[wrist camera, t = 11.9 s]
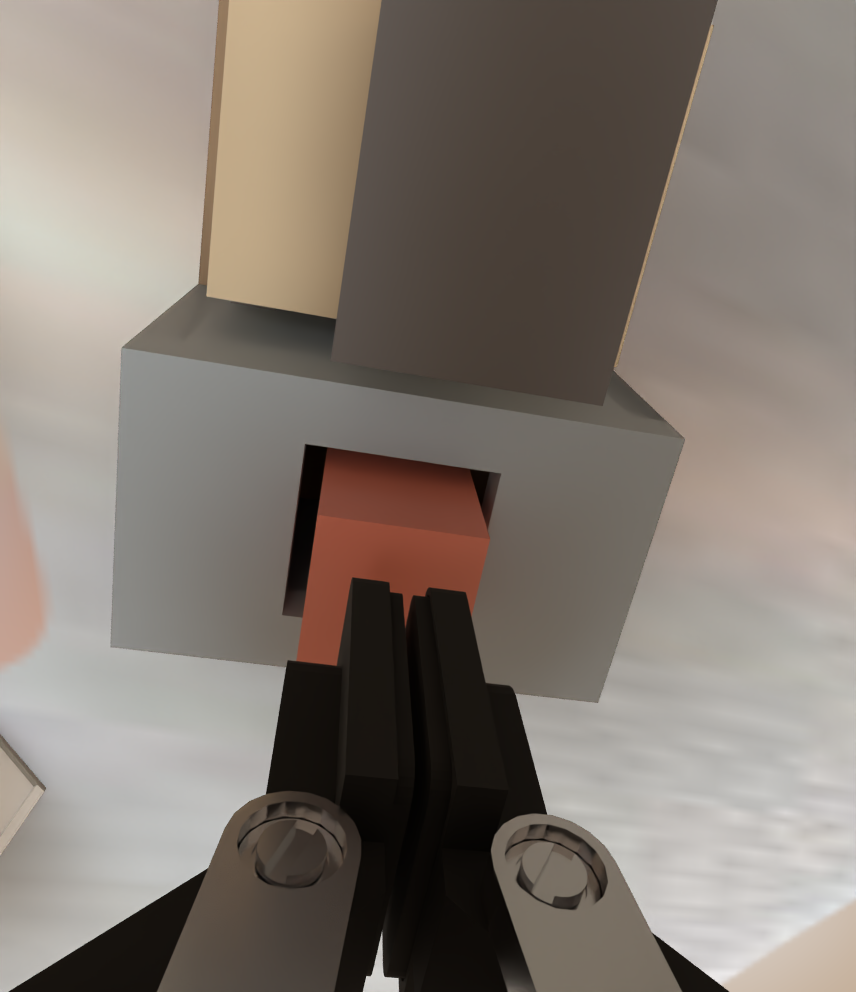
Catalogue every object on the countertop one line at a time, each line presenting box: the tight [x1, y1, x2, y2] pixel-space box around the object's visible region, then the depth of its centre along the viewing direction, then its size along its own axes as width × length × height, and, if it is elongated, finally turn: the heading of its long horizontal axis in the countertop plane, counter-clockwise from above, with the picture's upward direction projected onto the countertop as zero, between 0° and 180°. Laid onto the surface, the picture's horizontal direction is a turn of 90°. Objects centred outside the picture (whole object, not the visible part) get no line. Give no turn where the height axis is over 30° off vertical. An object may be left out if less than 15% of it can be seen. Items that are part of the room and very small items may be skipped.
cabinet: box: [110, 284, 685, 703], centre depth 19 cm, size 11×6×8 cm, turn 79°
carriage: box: [206, 0, 718, 406], centre depth 12 cm, size 8×6×10 cm
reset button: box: [296, 447, 490, 666], centre depth 15 cm, size 3×3×4 cm
